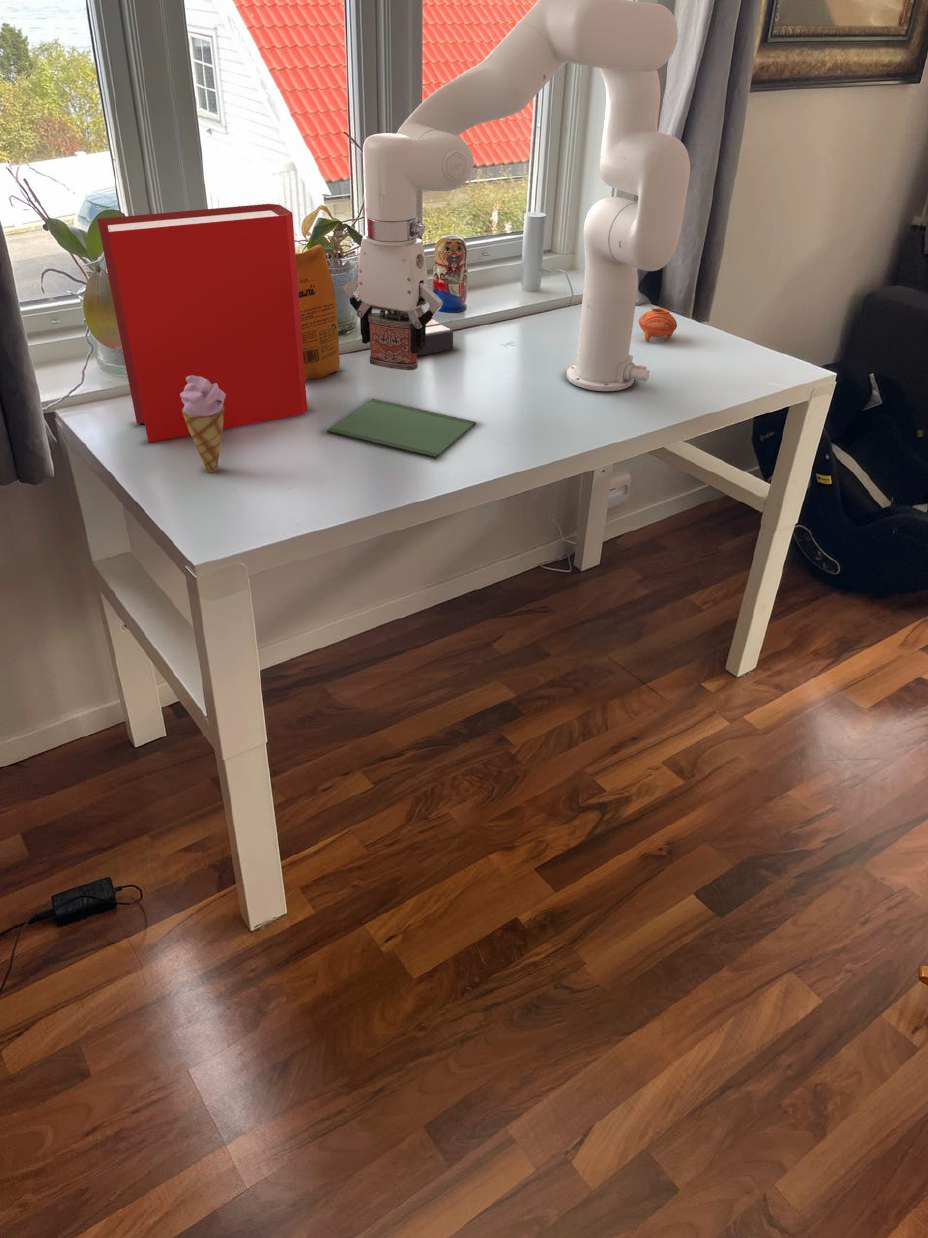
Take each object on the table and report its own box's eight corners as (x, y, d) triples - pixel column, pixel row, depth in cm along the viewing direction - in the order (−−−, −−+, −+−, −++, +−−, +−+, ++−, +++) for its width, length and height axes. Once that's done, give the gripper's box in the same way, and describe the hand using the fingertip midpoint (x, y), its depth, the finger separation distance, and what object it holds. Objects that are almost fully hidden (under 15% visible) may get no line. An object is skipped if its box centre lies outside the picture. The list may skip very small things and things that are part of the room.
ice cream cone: (195, 460, 145) (181, 366, 136) (236, 459, 145) (224, 366, 137) (189, 480, 140) (173, 383, 131) (231, 479, 140) (218, 383, 131)
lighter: (420, 364, 150) (420, 301, 144) (413, 371, 147) (412, 307, 141) (374, 357, 152) (372, 294, 146) (366, 364, 149) (363, 300, 143)
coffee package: (261, 370, 175) (248, 248, 162) (318, 356, 182) (310, 237, 169) (289, 387, 169) (278, 261, 156) (346, 372, 176) (341, 250, 163)
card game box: (418, 309, 195) (454, 327, 184) (419, 329, 197) (454, 349, 187) (370, 316, 190) (404, 335, 180) (371, 337, 193) (404, 357, 182)
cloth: (475, 423, 158) (476, 421, 158) (435, 458, 147) (435, 456, 147) (373, 400, 165) (373, 398, 165) (327, 432, 154) (327, 430, 154)
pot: (627, 332, 197) (637, 300, 193) (658, 338, 200) (669, 307, 196) (644, 344, 190) (655, 311, 187) (676, 350, 193) (688, 317, 190)
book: (148, 442, 149) (108, 231, 131) (136, 423, 155) (97, 218, 136) (310, 413, 160) (295, 214, 141) (293, 396, 166) (277, 202, 147)
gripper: (455, 231, 137) (453, 348, 147) (353, 216, 143) (357, 329, 153) (432, 242, 132) (431, 363, 142) (326, 226, 138) (333, 343, 148)
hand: (393, 345), depth 148 cm, fingers closed on lighter, 8 cm apart
